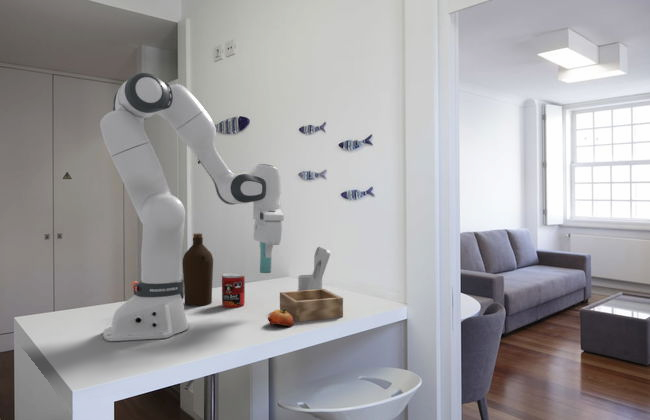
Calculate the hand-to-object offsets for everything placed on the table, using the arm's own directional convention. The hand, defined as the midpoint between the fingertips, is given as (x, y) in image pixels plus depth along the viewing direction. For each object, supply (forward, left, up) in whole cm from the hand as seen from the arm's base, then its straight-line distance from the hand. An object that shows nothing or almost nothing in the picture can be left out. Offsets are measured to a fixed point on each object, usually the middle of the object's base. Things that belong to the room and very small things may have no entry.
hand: (265, 256), depth 153 cm
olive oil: (-19, +23, -19) cm, 35 cm away
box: (+13, -6, -19) cm, 24 cm away
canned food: (-8, +15, -19) cm, 25 cm away
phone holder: (+25, +22, -19) cm, 39 cm away
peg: (0, 0, -5) cm, 5 cm away
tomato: (0, -15, -19) cm, 24 cm away
